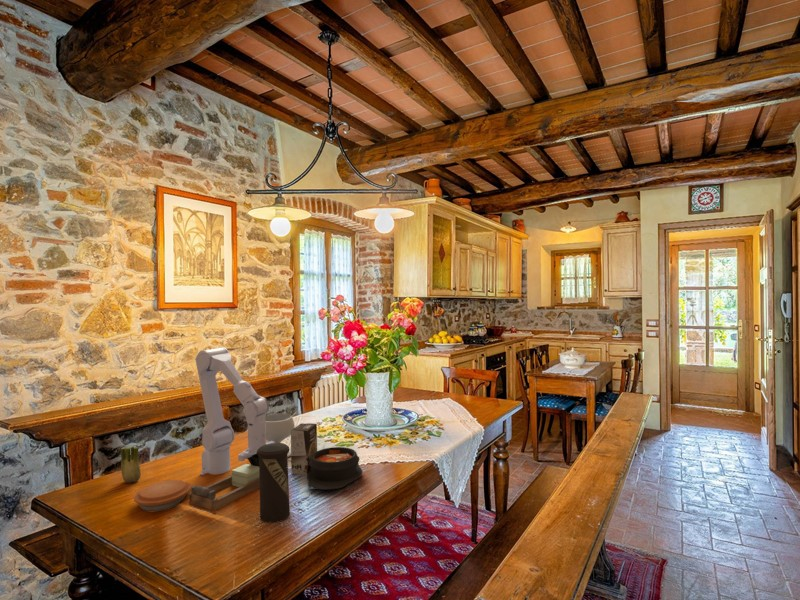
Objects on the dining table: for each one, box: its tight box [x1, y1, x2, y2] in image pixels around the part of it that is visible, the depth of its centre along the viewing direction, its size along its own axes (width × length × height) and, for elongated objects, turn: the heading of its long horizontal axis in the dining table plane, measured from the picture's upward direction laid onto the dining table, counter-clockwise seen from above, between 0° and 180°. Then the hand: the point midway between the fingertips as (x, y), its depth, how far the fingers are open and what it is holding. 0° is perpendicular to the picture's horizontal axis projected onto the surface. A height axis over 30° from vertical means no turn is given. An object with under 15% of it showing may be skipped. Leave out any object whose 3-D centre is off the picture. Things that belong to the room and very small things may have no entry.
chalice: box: [265, 412, 296, 458], centre depth 174 cm, size 14×14×15 cm
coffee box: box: [290, 422, 318, 476], centre depth 157 cm, size 9×6×16 cm
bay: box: [188, 475, 260, 515], centre depth 140 cm, size 11×25×6 cm, turn 151°
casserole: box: [306, 446, 363, 491], centre depth 150 cm, size 25×19×8 cm
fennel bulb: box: [120, 445, 142, 484], centre depth 152 cm, size 6×5×12 cm
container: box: [257, 442, 291, 524], centre depth 126 cm, size 9×9×20 cm
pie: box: [133, 479, 192, 512], centre depth 136 cm, size 16×16×5 cm
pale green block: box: [230, 463, 260, 488], centre depth 145 cm, size 7×6×5 cm
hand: (258, 475), depth 149 cm, fingers closed
